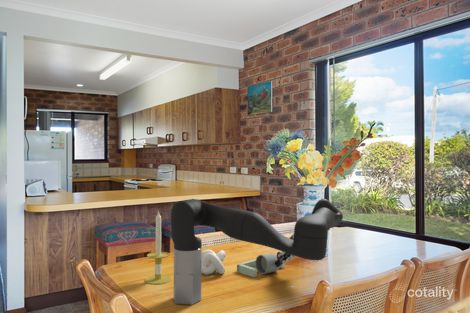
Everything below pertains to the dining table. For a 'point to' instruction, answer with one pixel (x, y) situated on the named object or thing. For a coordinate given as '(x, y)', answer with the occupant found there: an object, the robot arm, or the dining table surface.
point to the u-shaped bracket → (250, 268)
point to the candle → (158, 257)
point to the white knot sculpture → (212, 262)
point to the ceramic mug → (266, 263)
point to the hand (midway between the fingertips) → (276, 264)
